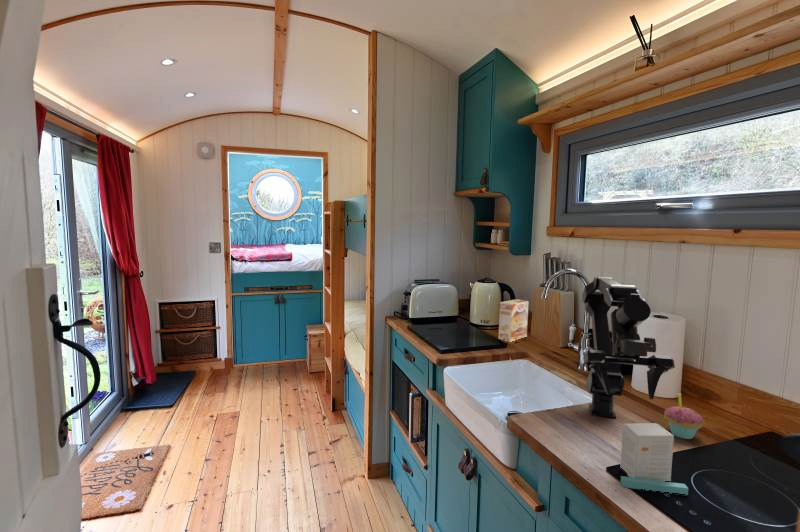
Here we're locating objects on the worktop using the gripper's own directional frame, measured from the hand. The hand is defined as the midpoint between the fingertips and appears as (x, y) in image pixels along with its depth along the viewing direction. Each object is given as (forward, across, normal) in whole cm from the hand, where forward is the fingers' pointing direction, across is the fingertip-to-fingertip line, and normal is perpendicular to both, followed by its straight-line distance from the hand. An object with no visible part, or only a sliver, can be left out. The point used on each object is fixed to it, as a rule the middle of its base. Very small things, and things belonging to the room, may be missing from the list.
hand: (629, 397), depth 95 cm
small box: (+16, +2, -1) cm, 17 cm away
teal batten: (+19, +2, -5) cm, 19 cm away
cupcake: (+6, +17, +19) cm, 27 cm away
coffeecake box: (-32, -23, +92) cm, 100 cm away
